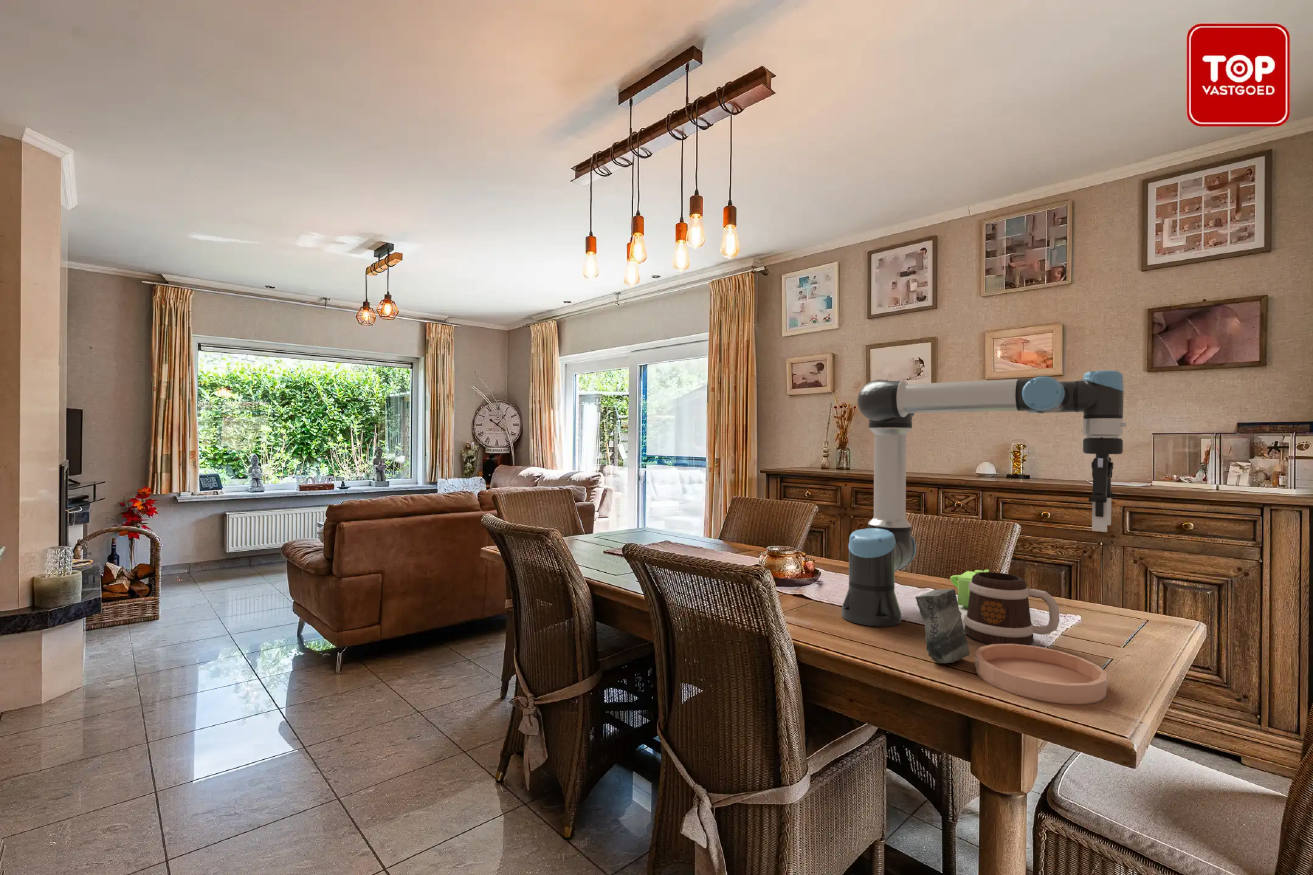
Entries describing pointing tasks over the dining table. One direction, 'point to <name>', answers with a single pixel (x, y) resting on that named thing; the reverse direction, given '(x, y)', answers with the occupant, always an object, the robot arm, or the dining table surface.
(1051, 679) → the dish
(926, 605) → the stone block
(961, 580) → the teapot
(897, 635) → the dining table surface
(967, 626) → the mug
